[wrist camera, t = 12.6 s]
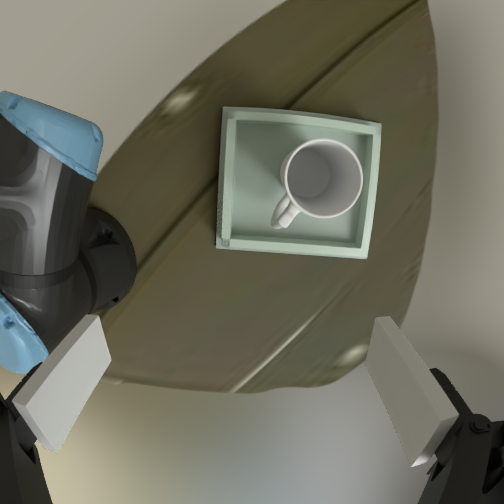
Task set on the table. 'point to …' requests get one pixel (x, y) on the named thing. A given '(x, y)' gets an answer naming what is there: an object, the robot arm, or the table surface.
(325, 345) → the table surface
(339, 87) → the table surface
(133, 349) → the table surface
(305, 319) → the table surface
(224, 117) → the tray
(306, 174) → the mug
